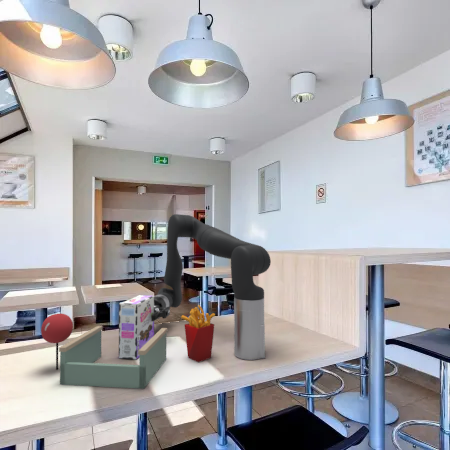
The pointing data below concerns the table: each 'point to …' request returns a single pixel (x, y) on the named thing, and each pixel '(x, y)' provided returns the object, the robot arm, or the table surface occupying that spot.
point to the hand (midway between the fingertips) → (140, 317)
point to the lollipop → (56, 330)
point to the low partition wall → (109, 373)
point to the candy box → (135, 325)
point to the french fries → (199, 335)
